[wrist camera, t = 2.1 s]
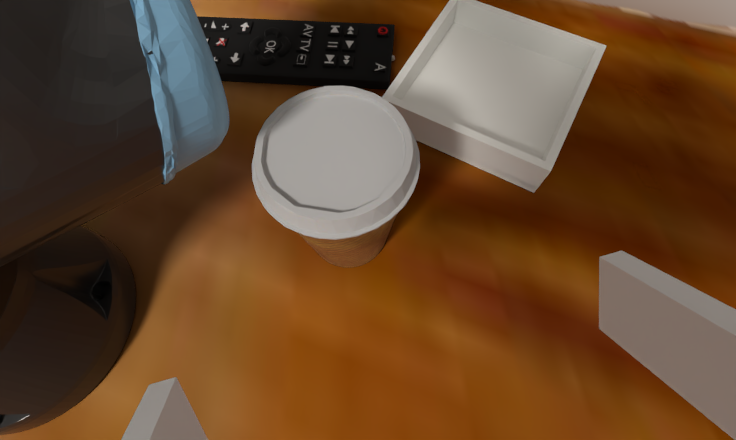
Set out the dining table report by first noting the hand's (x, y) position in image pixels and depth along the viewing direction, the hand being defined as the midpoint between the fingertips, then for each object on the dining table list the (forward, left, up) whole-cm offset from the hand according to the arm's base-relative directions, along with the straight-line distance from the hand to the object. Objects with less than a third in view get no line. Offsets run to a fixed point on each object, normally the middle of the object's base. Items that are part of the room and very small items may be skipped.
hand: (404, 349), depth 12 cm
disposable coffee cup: (-8, +8, -17) cm, 20 cm away
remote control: (-28, +19, -18) cm, 38 cm away
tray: (-4, +26, -17) cm, 31 cm away
